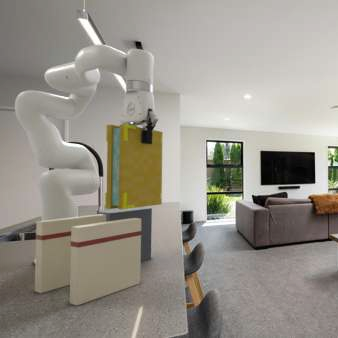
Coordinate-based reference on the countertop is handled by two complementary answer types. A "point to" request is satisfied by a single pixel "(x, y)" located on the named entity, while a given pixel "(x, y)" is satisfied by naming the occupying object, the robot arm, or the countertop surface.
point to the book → (133, 168)
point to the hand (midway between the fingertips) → (138, 143)
